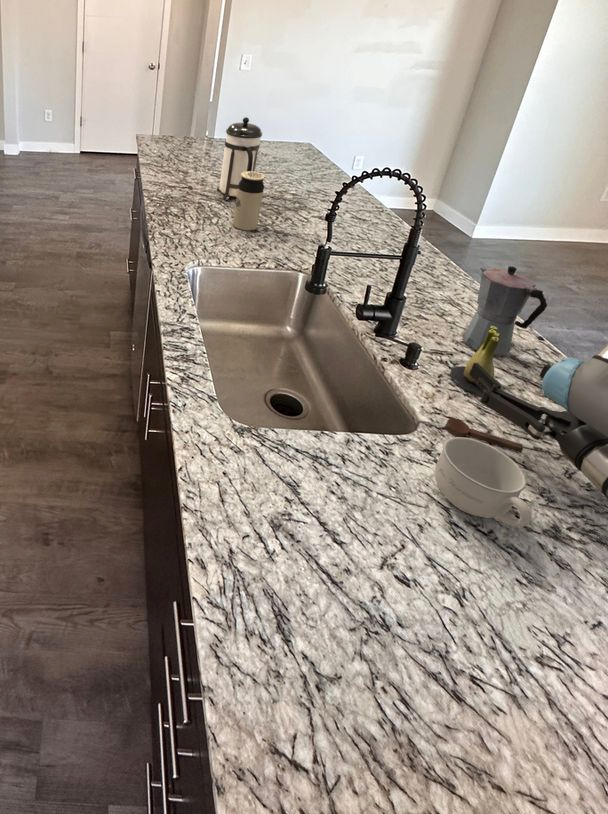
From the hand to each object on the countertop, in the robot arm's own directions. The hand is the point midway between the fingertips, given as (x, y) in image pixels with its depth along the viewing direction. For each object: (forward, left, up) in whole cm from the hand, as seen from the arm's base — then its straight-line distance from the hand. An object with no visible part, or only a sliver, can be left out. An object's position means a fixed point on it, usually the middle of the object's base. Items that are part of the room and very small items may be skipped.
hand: (508, 369), depth 102 cm
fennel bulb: (+3, -5, -8) cm, 10 cm away
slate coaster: (+3, -5, -8) cm, 10 cm away
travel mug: (+63, -60, -8) cm, 87 cm away
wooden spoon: (+3, +13, -8) cm, 15 cm away
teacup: (+7, +30, -8) cm, 32 cm away
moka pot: (-1, -21, -8) cm, 23 cm away
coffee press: (+72, -86, -8) cm, 112 cm away
